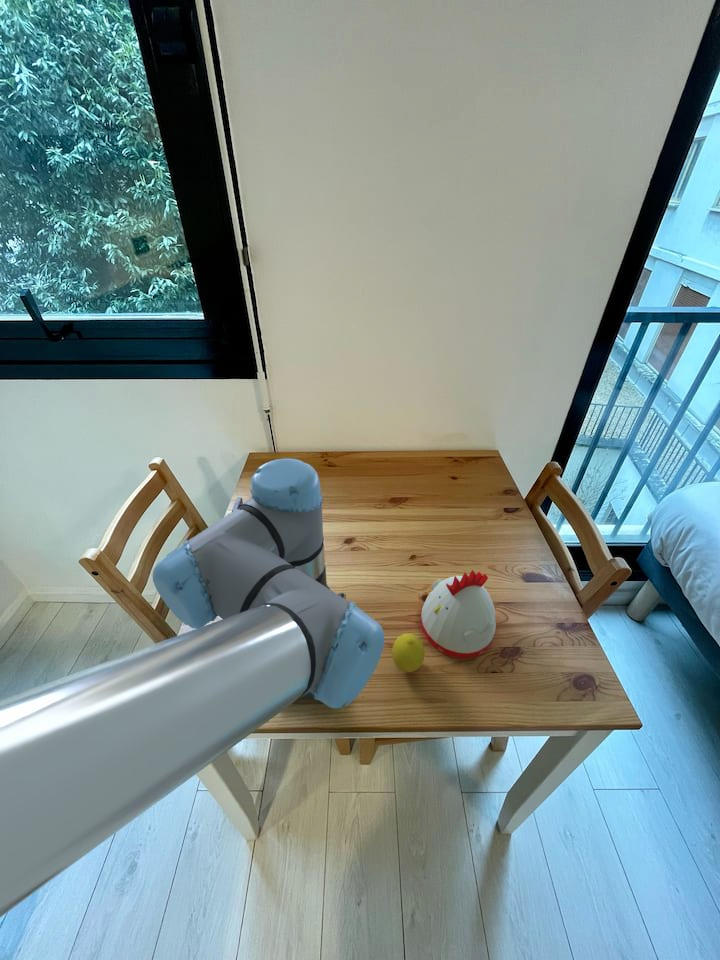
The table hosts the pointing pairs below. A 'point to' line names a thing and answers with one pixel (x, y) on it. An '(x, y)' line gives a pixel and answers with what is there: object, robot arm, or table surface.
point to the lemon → (408, 652)
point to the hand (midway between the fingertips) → (308, 660)
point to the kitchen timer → (459, 616)
